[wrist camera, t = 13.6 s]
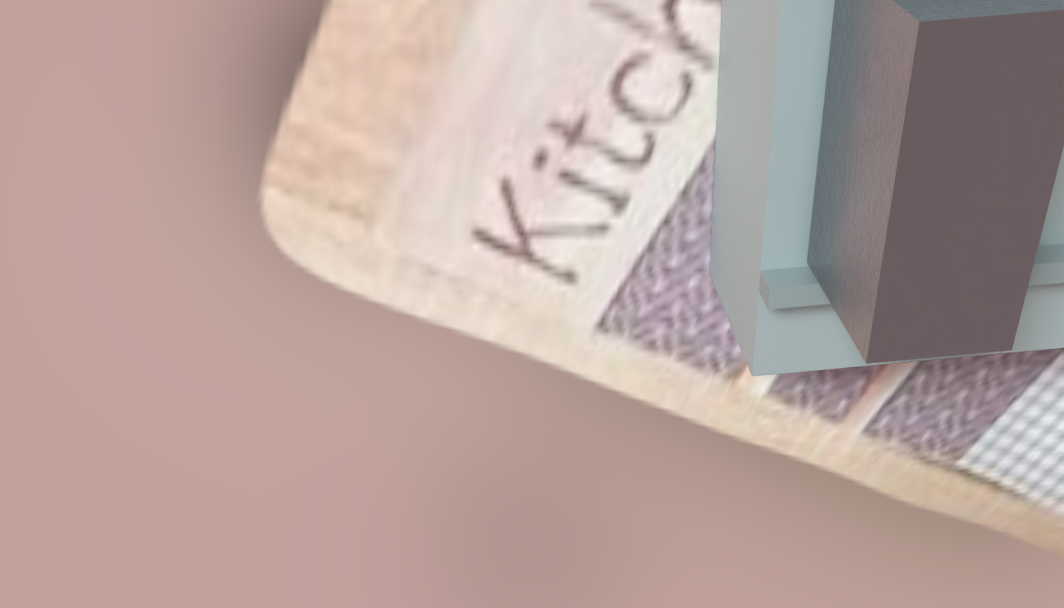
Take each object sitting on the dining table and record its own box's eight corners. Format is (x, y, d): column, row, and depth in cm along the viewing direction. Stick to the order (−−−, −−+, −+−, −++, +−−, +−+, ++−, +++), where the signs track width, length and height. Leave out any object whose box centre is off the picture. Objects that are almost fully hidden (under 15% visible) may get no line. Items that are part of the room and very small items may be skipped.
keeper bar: (988, -54, 20) (1099, 6, 16) (931, 251, 24) (1012, 350, 20) (838, -42, 20) (919, 21, 16) (806, 262, 24) (866, 363, 20)
